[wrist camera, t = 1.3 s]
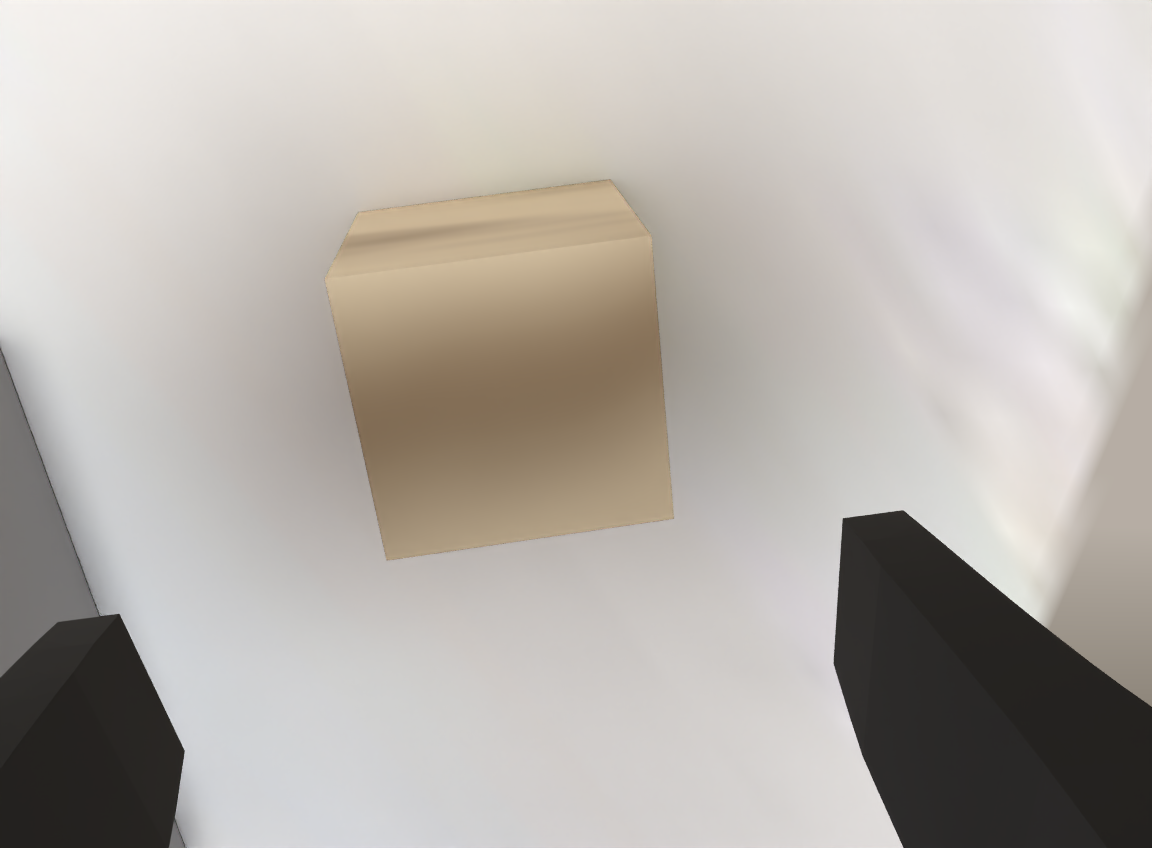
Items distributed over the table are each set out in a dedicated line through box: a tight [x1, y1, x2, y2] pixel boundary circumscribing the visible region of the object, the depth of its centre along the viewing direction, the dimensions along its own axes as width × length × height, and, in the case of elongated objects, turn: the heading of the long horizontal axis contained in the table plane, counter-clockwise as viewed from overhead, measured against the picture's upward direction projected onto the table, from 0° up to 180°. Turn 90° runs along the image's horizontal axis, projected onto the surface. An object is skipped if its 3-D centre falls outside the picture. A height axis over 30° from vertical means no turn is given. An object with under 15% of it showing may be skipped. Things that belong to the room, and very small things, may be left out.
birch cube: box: [325, 180, 674, 560], centre depth 18 cm, size 5×5×5 cm
